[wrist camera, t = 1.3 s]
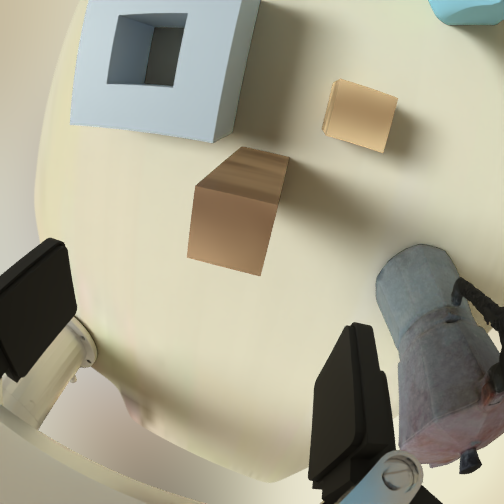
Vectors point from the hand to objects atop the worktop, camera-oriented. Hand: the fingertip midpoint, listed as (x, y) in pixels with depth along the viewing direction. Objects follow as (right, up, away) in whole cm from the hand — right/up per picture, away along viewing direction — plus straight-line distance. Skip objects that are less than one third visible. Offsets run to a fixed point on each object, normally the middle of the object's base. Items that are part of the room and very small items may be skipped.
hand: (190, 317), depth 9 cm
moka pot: (+18, -1, +19) cm, 26 cm away
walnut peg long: (+3, +8, +16) cm, 19 cm away
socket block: (-4, +18, +12) cm, 23 cm away
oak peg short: (+10, +13, +13) cm, 21 cm away
